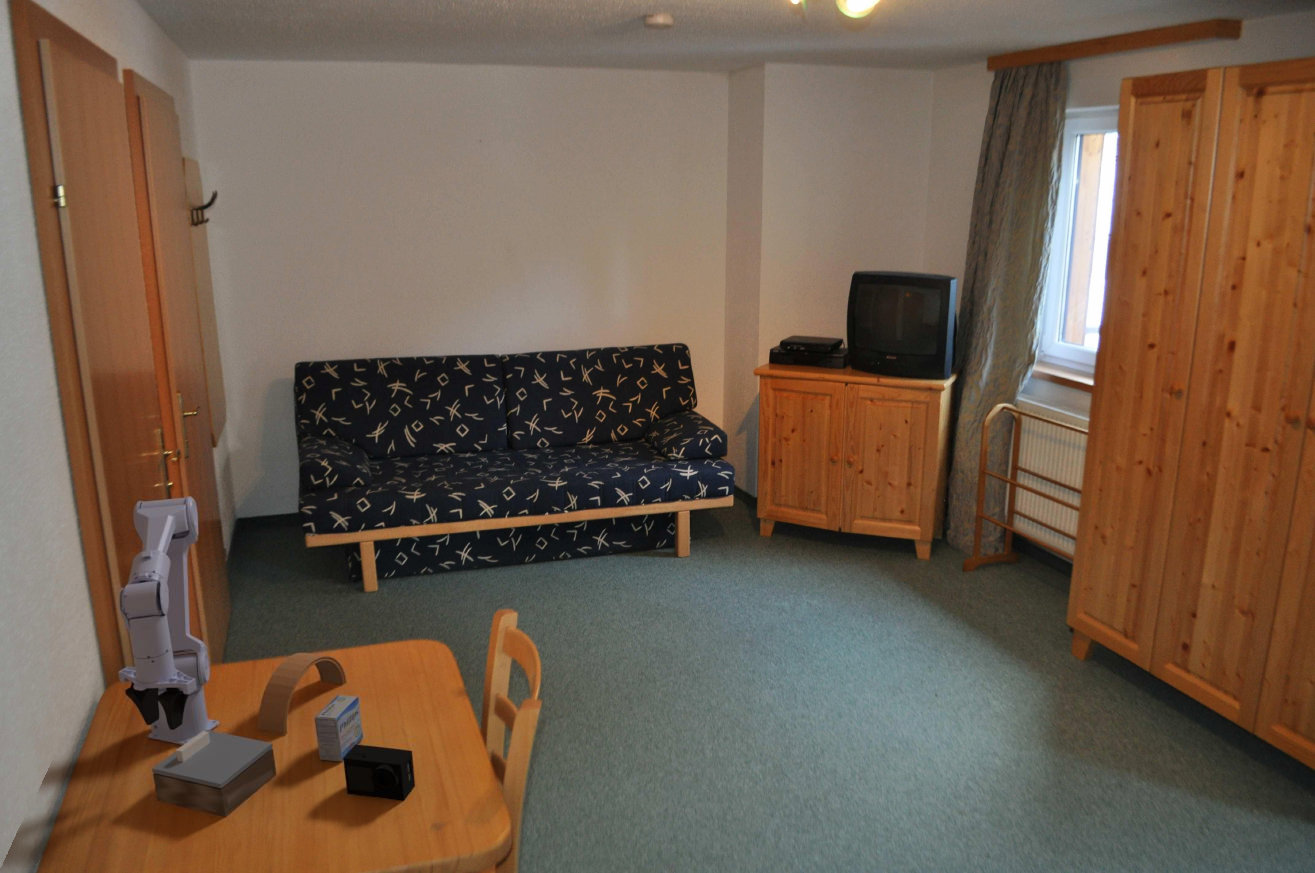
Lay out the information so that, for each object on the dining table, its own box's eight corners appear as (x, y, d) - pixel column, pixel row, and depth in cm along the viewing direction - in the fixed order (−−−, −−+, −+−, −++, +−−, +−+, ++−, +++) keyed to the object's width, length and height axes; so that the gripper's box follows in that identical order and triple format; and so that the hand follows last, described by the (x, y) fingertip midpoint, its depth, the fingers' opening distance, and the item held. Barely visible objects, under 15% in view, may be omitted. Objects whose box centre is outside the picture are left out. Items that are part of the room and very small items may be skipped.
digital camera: (342, 798, 160) (338, 761, 159) (358, 779, 166) (354, 743, 164) (400, 806, 158) (396, 768, 157) (415, 786, 164) (411, 749, 162)
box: (157, 800, 161) (152, 774, 159) (211, 760, 172) (207, 735, 170) (225, 816, 156) (221, 789, 155) (276, 774, 167) (273, 748, 166)
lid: (152, 772, 159) (150, 757, 158) (207, 733, 170) (205, 719, 169) (221, 788, 155) (219, 772, 154) (272, 747, 166) (270, 732, 165)
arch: (258, 731, 181) (251, 683, 178) (323, 679, 199) (317, 635, 196) (284, 736, 179) (278, 687, 176) (347, 683, 197) (342, 638, 195)
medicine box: (342, 762, 170) (337, 719, 168) (318, 760, 171) (313, 716, 169) (363, 738, 178) (359, 695, 175) (341, 735, 179) (336, 693, 176)
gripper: (98, 655, 159) (111, 729, 162) (168, 667, 155) (180, 743, 158) (133, 637, 166) (145, 708, 169) (201, 648, 161) (212, 721, 164)
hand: (164, 724), depth 164 cm, fingers open, 4 cm apart
